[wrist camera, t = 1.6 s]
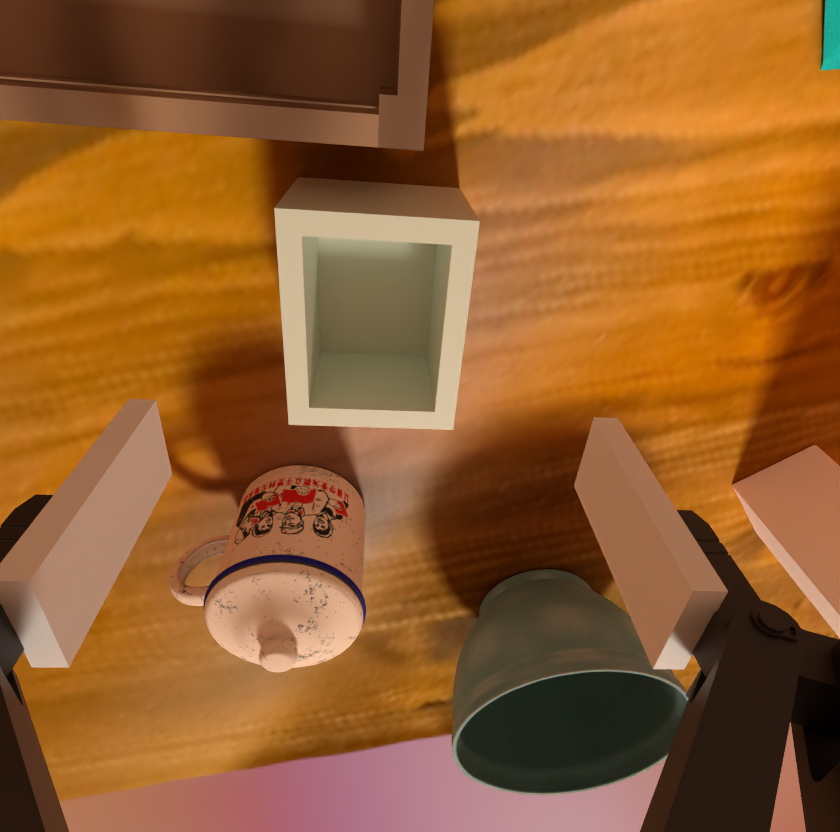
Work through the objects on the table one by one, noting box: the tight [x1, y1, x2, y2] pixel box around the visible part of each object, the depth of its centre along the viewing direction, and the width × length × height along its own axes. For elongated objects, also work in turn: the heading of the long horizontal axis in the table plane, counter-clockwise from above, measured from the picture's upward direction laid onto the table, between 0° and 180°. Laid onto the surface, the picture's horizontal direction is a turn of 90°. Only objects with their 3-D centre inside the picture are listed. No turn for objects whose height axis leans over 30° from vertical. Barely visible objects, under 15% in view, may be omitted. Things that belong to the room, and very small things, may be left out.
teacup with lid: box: [169, 465, 366, 672], centre depth 33 cm, size 12×9×12 cm
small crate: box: [274, 177, 480, 430], centre depth 27 cm, size 8×10×7 cm
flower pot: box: [452, 569, 689, 795], centre depth 41 cm, size 16×16×11 cm
